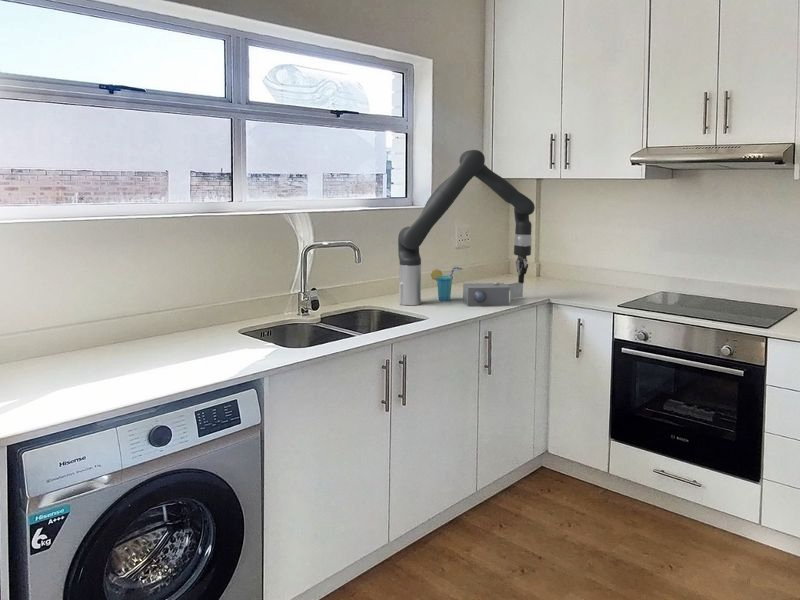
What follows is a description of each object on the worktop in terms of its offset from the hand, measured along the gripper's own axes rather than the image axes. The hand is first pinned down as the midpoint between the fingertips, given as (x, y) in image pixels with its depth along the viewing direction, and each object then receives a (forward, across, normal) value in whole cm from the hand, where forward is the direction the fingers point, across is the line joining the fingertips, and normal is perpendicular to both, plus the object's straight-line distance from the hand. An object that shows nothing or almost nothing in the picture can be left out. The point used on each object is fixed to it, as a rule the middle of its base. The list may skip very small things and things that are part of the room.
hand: (520, 282), depth 308 cm
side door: (+7, -1, -3) cm, 8 cm away
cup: (+8, -1, -34) cm, 35 cm away
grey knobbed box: (+8, +8, -18) cm, 21 cm away
